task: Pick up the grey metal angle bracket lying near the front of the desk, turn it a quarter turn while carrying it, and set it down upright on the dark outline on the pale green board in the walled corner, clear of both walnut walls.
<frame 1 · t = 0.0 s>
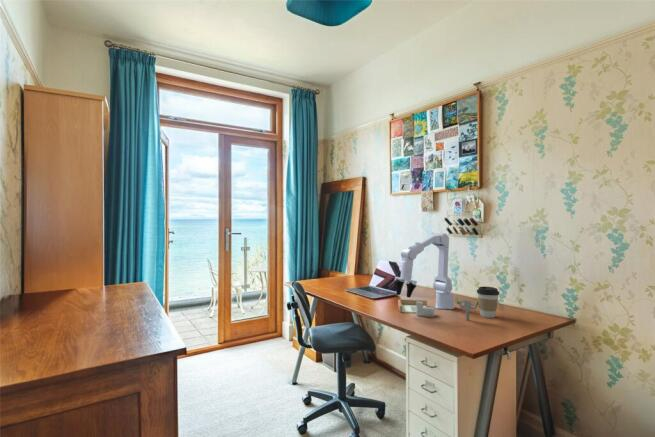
hand: (403, 295, 185), 11 cm above the table, tool pointing down, fingers open, 7 cm apart
mechanical component: (467, 320, 177), on the table
corner arena: (414, 309, 197), on the table
coffee cup: (487, 316, 185), on the table
bracket: (424, 315, 186), on the table
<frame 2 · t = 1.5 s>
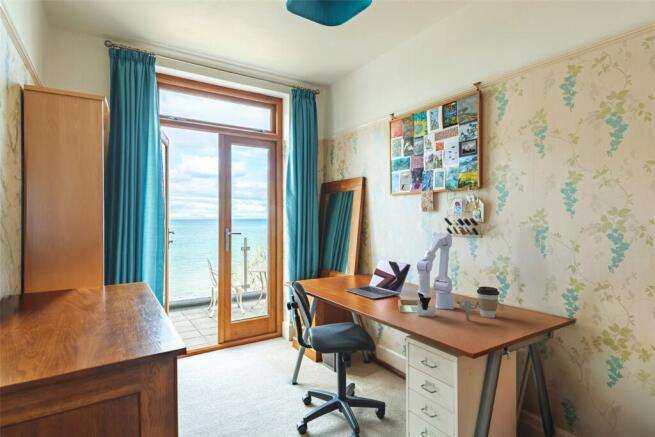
hand: (424, 308, 186), 4 cm above the table, tool pointing down, fingers open, 7 cm apart
nothing on the table moved.
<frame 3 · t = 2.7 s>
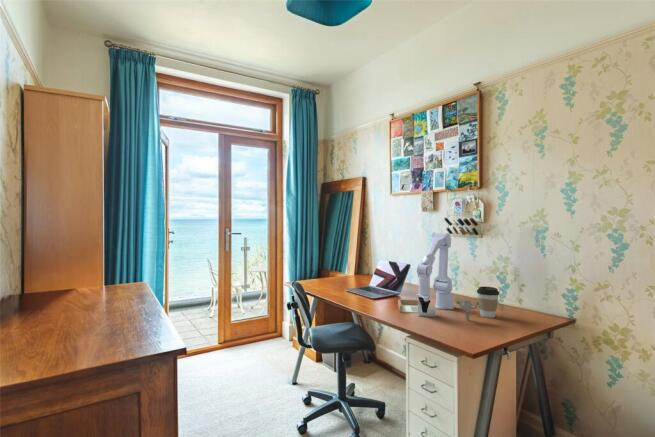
hand: (424, 311, 186), 2 cm above the table, tool pointing down, fingers closed on bracket, 4 cm apart
bracket: (425, 315, 186), on the table, touching gripper
everything else where it was.
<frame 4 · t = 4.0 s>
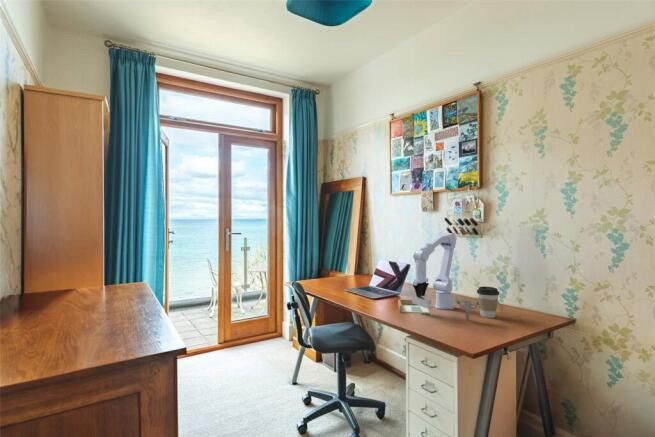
hand: (420, 296, 190), 9 cm above the table, tool pointing down, fingers closed on bracket, 4 cm apart
bracket: (420, 304, 190), point 5 cm above the table, tilted 9°, touching gripper
everything else where it was.
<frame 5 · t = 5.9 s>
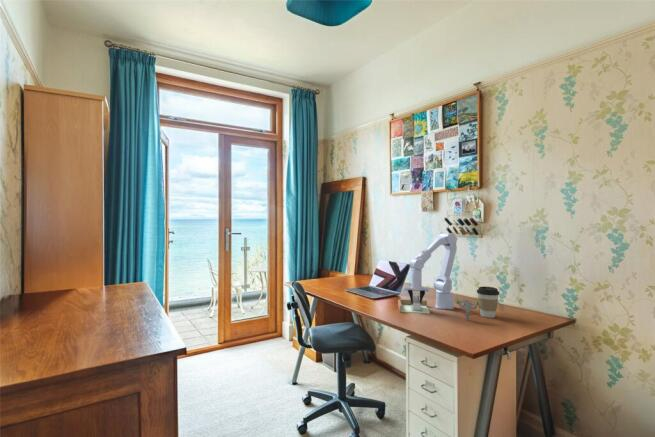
hand: (416, 303, 196), 4 cm above the table, tool pointing down, fingers closed on bracket, 4 cm apart
bracket: (415, 308, 198), point 1 cm above the table, touching corner arena, gripper
everything else where it was.
when the fingers open (3 cm above the table, at t = 6.8 s): bracket stays where it is, resting on corner arena.
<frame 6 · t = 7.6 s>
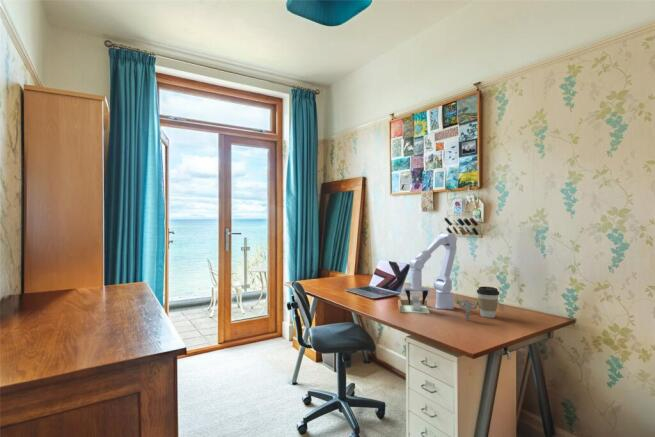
hand: (416, 303, 196), 3 cm above the table, tool pointing down, fingers open, 7 cm apart
bracket: (415, 308, 198), point 1 cm above the table, touching corner arena
everything else where it was.
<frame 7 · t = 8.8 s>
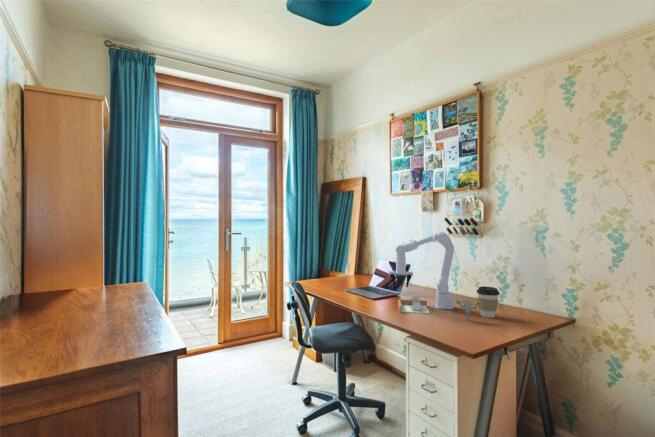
hand: (400, 286, 209), 10 cm above the table, tool pointing down, fingers open, 7 cm apart
nothing on the table moved.
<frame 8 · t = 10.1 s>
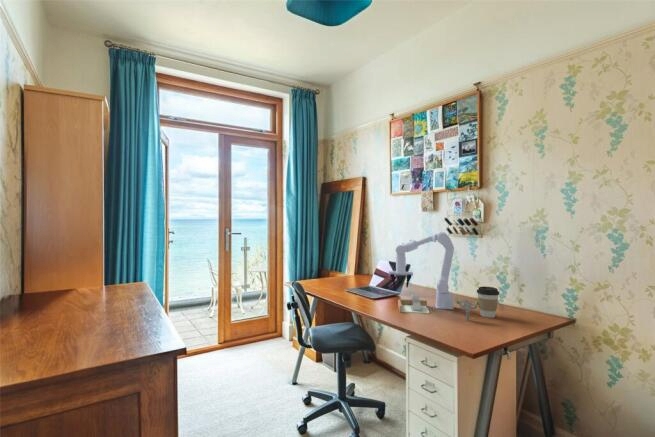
hand: (400, 287, 209), 10 cm above the table, tool pointing down, fingers open, 7 cm apart
nothing on the table moved.
at the end: bracket inside the target area (1.8 cm from its centre), point 0.6 cm above the table; bracket tilted 0°; the gripper is holding nothing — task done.
